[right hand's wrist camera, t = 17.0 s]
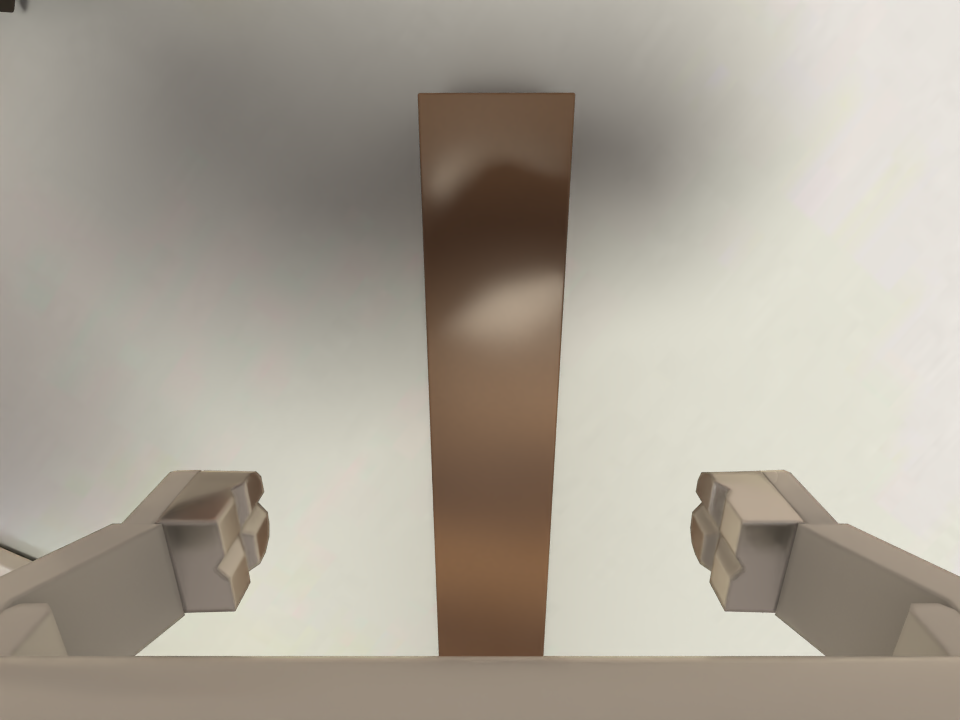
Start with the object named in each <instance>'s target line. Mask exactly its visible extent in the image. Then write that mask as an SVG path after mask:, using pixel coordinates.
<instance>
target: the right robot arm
mask: <svg viewBox="0 0 960 720" xmlns="http://www.w3.org/2000/svg"><path fill="white" fill-rule="evenodd" d="M263 493H264V488H263V483H262V478H261V476H260V475H259V474H258V473H257V472H256V471H209V470H204V471H201V470H177V471H173V472H170V473H169V474H168V475H167V476H166V477H165V478H164V479H163V480H162V481H161V482H160V483H159V484H158V485H157V486H156V488H155V489H154V490H153V491H152V492H151V493H150V494H149V495H148V496H147V497H146V498H145V499H144V500H143V501H142V502H141V504H140V505H139V506H138V507H137V508H136V509H135V510H134V511H133V512H132V513H131V514H130V515H129V516H128V517H127V518H126V519H125V521H124V522H123V523H122V524H111V525H109V526H107V527H104V528H102V529H100V530H98V531H96V532H94V533H92V534H90V535H87V536H85V537H83V538H81V539H79V540H77V541H75V542H73V543H70V544H68V545H66V546H64V547H62V548H60V549H58V550H56V551H53V552H51V553H49V554H47V555H45V556H43V557H41V558H39V559H36V560H34V561H31V560H29V559H27V558H24V557H22V556H19V555H17V554H15V553H12V552H10V551H8V550H5V549H3V548H1V547H0V720H960V577H959V576H957V575H955V574H953V573H951V572H949V571H947V570H945V569H942V568H940V567H938V566H936V565H934V564H932V563H930V562H928V561H926V560H923V559H921V558H919V557H917V556H915V555H913V554H911V553H909V552H906V551H904V550H902V549H900V548H898V547H896V546H894V545H892V544H889V543H887V542H885V541H883V540H881V539H879V538H877V537H875V536H872V535H870V534H868V533H866V532H864V531H862V530H860V529H858V528H856V527H853V526H851V525H849V524H838V523H837V522H836V521H835V519H834V518H833V517H832V516H831V515H830V514H829V513H828V512H827V511H826V510H825V509H824V508H823V507H822V506H821V505H820V503H819V502H818V501H817V500H816V499H815V498H814V497H813V496H812V495H811V494H810V493H809V492H808V491H807V490H806V489H805V487H804V486H803V485H802V484H801V483H800V482H799V481H798V480H797V479H796V478H795V477H794V476H793V475H792V474H791V473H790V472H788V471H785V470H766V471H739V472H701V475H700V477H699V479H698V482H697V488H696V493H697V495H698V496H699V498H700V500H701V501H702V503H701V504H700V505H699V506H698V507H697V508H696V509H695V510H694V511H693V512H692V519H691V526H690V529H691V541H692V545H693V549H694V552H695V555H696V557H697V559H698V561H699V563H700V564H701V565H703V566H704V567H705V568H707V569H708V570H710V571H711V576H710V584H711V586H712V588H713V590H714V592H715V594H716V596H717V597H718V599H719V601H720V603H721V605H722V607H723V609H724V611H733V612H769V613H775V615H776V616H777V617H778V618H779V619H781V620H782V621H783V622H784V623H786V624H787V625H788V626H789V627H791V628H792V629H793V630H794V631H796V632H797V633H798V634H799V635H800V636H802V637H803V638H804V639H805V640H807V641H808V642H809V643H810V644H812V645H813V646H814V647H815V648H816V649H818V650H819V651H820V652H821V653H823V654H824V655H825V656H135V655H136V654H137V653H139V652H140V651H141V650H142V649H144V648H145V647H146V646H147V645H149V644H150V643H151V642H152V641H154V640H155V639H156V638H157V637H159V636H160V635H161V634H162V633H163V632H165V631H166V630H167V629H168V628H170V627H171V626H172V625H173V624H175V623H176V622H177V621H178V620H180V619H181V618H182V617H183V616H184V615H185V614H184V613H191V612H226V611H236V609H237V607H238V605H239V603H240V601H241V599H242V597H243V596H244V594H245V592H246V590H247V588H248V586H249V584H250V576H249V571H250V570H252V569H253V568H255V567H256V566H257V565H259V564H260V563H261V561H262V559H263V557H264V555H265V553H266V549H267V544H268V540H269V518H268V512H267V511H266V510H265V509H264V508H263V507H262V506H261V505H260V504H259V503H258V501H259V500H260V498H261V496H262V495H263Z"/></svg>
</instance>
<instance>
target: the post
mask: <svg viewBox="0 0 960 720" xmlns="http://www.w3.org/2000/svg"><path fill="white" fill-rule="evenodd" d="M574 106H575V93H419V94H418V115H419V142H420V168H421V194H422V221H423V247H424V274H425V300H426V327H427V353H428V379H429V406H430V432H431V459H432V485H433V512H434V538H435V564H436V591H437V617H438V644H439V656H543V652H544V635H545V617H546V600H547V582H548V564H549V547H550V529H551V511H552V494H553V476H554V459H555V441H556V423H557V406H558V388H559V371H560V353H561V335H562V318H563V300H564V283H565V265H566V247H567V230H568V212H569V194H570V177H571V159H572V142H573V124H574Z"/></svg>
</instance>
